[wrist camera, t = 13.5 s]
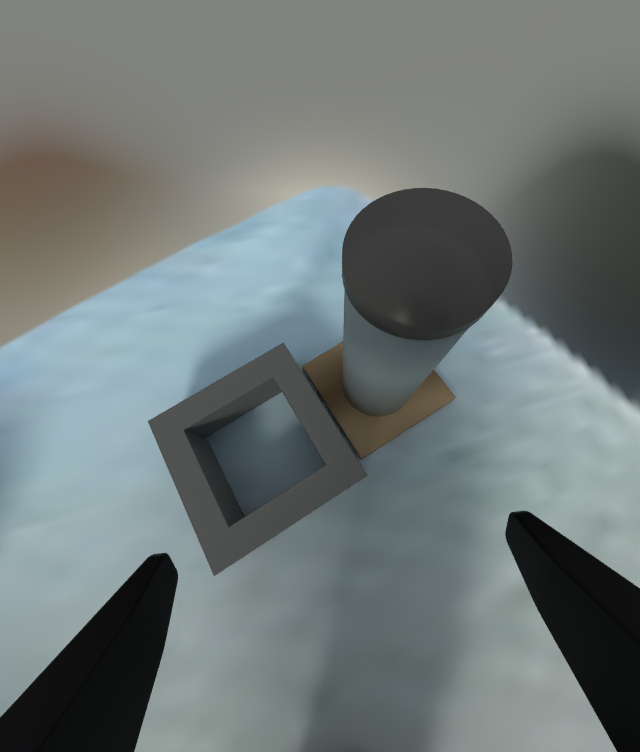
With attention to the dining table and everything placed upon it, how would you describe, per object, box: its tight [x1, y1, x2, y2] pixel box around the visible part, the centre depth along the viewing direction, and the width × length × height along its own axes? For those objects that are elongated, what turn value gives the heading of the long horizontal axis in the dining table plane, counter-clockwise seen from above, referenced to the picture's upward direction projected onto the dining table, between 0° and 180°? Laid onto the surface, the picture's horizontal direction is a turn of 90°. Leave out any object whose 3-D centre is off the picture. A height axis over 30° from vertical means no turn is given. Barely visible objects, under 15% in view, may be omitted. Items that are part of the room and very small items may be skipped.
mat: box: [302, 342, 456, 459], centre depth 23 cm, size 8×8×1 cm
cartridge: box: [342, 188, 512, 416], centre depth 17 cm, size 5×5×14 cm
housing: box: [148, 343, 367, 576], centre depth 21 cm, size 10×10×4 cm
